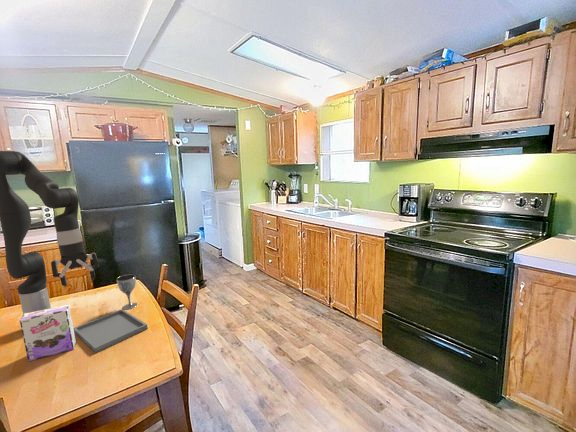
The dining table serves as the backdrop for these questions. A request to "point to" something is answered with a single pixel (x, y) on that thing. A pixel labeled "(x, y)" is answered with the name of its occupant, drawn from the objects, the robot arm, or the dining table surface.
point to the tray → (109, 330)
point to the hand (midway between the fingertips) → (79, 283)
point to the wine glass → (127, 288)
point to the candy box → (48, 332)
